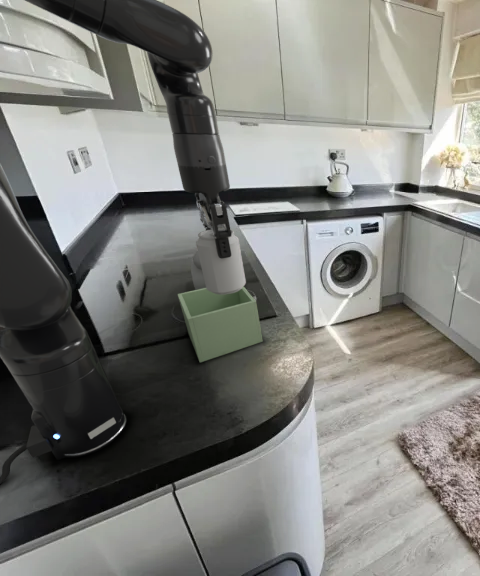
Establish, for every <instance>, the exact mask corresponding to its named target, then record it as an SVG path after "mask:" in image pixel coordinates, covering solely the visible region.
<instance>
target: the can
mask: <svg viewBox="0 0 480 576" xmlns="http://www.w3.org/2000/svg"><path fill="white" fill-rule="evenodd" d="M230 230H231V233H232V235H231V237H229V238H228V239H229V244H230V249H231V257H228V258H223V259H221V258H219V256H218V253H217V248H216V243H215V239H214V238H213V233H212V230H206V229H205V230H203V231H201V232H199V233H198V234H197V237H198V238H197V240H196V241H195V245H196V249H197V251H198V254H199V259H200V263H201V267H202V272H203V276H204V281H205V285H206V289H207V290H208V291H210V292H212V293H214V294H219V295H225V294H231V293H235V292H237V291H239V290H240V289H242V287H243V286H244V287H245V285H246V284H247V279H246V275H245V268H244V263H243V257H242V251H241V245H240V239H239V237H238V236H236V235H235V231H234V230H232V229H230ZM218 231H224V229H218Z"/></svg>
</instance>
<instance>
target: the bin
mask: <svg viewBox="0 0 480 576" xmlns="http://www.w3.org/2000/svg"><path fill="white" fill-rule="evenodd" d="M177 298H178V301H179V305H180V308H181V312H182V315H183V319H184V322H185V326H186V329H187V330H186V331H187V334H188V336H189V338H190V341H191V344H192V346H193V349H194V351H195V354H196V357H197V359H198V361H199V363H203V362H206V361H209V360H213V359H215V358H218V357H221V356H224V355H227V354H230V353H234V352H236V351H239V350H242V349H245V348H247V347H251V346H253V345H257V344H259V343H262V342H263V341H264V340H263V335H262V329H261V323H260V322H261V321H260V316H259V312H258V305H257V301H256V299H255V298H254V297H253V296H252V294H251V293H250V292H249V291H248V290H247V289H246V287H245V285H244V286H243V287H242V289H240V290H239V291H237V292H235V293H231V294H225V295H219V294H214V293H212V292H210V291H208V290H207V289H206V288H203V289H198V290H195V289H193V290H190V291H185V292H181V293H177Z"/></svg>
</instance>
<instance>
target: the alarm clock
mask: <svg viewBox="0 0 480 576" xmlns="http://www.w3.org/2000/svg"><path fill="white" fill-rule="evenodd" d="M190 273H191V279H192V283H193V287H194V290H198V289H203V288H206V285H205V281H204V276H203V272H202V267H201V263H200V259H199V254H198V250H197V251H195V252H194V253H193V255H192V257H191V261H190Z"/></svg>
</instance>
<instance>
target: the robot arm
mask: <svg viewBox="0 0 480 576" xmlns="http://www.w3.org/2000/svg"><path fill="white" fill-rule="evenodd" d="M24 1H25V2H26V3H29V4H32V5H33V6H35V7H36V8H39V9H41V10H43V11H46V12H48V13H49V14H52V15H54V16H55V17H58V18H60V19H62V20H64V21H66V22H68V23H70V24H72V25H74V26H76V27H79V28H81V29H83V30H85V31H87V32H89V33H92V34H94V35H96V36H97V37H100V38H102V39H104V40H107V41H110V42H113V43H115V44H121V45H123V44H124V45H128V46H133V47H136V48H138V49H140V50H142V51H144V52H146V54H147V58H148V61H149V65H150V67H151V70H152V74H153V76H154V78H155V81H156V83H157V87H158V89H159V91H160V93H161V95H162V97H163V99H164V103H165V107H166V112H167V117H168V121H169V126H170V131H171V133H172V134H171V135H172V143H173V150H174V155H175V159H176V162H177V168H178V172H179V176H180V181H181V185H182V189H183V190H184V192H187V193H190V194H194V197H195V198H196V199H195V200H196V206H197V208H198V214H199V218H200V222H201V223H202V226H203V227H204V229H205V231H206V230H212V233H213V238H214V239H215V243H216V248H217V253H218V256H219V258H221V259H223V258H228V257H231V249H230V244H229V239H228V238H229V237H231V235H232V233H231V230H232V229H231V226H230V225H231V224H230V220H229V214H228V206H227V204H226V203H225V202H224V201H223V200H221V198H220V195H219V193H221V192H227V191H229V190H230V187H231V185H230V179H229V174H228V169H227V168H228V167H227V162H226V156H225V150H224V147H223V143H222V139H221V136H220V130H219V124H218V120H217V113H216V109H215V105H214V103H213V101H212V99H211V98H210V97H209V96H208V95H206V94H205V93H204V90H203V87H202V84H201V81H200V76H199V74H200V73H202V72H204V71H205V70H207V69H208V68H209V67H210V65H211V63H212V61H213V54H214V53H213V47H212V44H211V43H212V42H211V41H210V39H209V37H208V35H207V34H206V32H205V31H204V29H203V28H202V27H201V26H200V25H199V24H198V23H197V22H195V20H193V19H192V18H190V16H188V15H186V14H185V13H183V12H181V11H180V10H178V9H177V8H174V7H172V6H170V5H168V4H166V3H164V2H161V1H159V0H24ZM218 227H223V229H224V231H218ZM72 292H73V291H72V287H71V284H70V281H69V280H68V279H67V277H66V276H65V274H64V273H63V272H62V271H61V270H60V268H59V267H58V265H57V264H56V263H55V261H54V260H53V259H52V257H51V256H50V255H49V253H48V251H47V250H46V249H45V248H44V246H43V244H42V243H41V241H40V240H39V238H38V237H37V236H36V234H35V233H34V231H33V229H32V228H31V226H30V225H29V223H28V221H27V219H26V218H25V215H24V214H23V211H22V210H21V207H20V205H19V202H18V199H17V197H16V195H15V193H14V190H13V188H12V186H11V183H10V181H9V179H8V176H7V174H6V172H5V170H4V168H3V166H2V163H0V359H1V360H2V362H3V363H4V365H5V366H6V368H7V369H8V371H9V373H10V374H11V376H12V377H13V379H14V381H15V382H16V384H17V386H18V387H19V389H20V390H21V392H22V394H23V395H24V397H25V398H26V400H27V402H28V403H29V405H30V406H31V409H32V413H31V417H30V418H31V421H32V423H33V424H34V425H32V426H31V427H30V431H29V435H28V439H27V441H26V443H24V444H23V445H22V446H20V447H19V448H18V449H16V450H15V451H14V452H13V453H11V454H10V455H9V456H8V457H7V458H6V460H5V461H4V462H3V464H2V467H1V475H0V485H1V484H3V483H4V482H5V481H6V480H7V479H8V478H9V477H10V474H11V465H12V463H13V462H14V461H15V459H17V458H18V457H19V456H20V455H21V454H22V453H24V452H26V451H28V452H29V454H30V456H31V457H32V458H34V459H35V458H37V457H39V456H42V455H45V454H47V453H50V452H51V453H52V454H53V456H54V457H55V459H56V461H59V460H63V459H65V458H68V459H74V458H81V457H86V456H88V455H91V454H94V453H96V452H98V451H100V450H102V449H104V448H105V447H107V446H109V445H110V444H111V443H113V442H114V441H115V440H116V439H118V438H119V437H120V436H121V434H122V433H123V432H124V431H125V429H126V427H127V424H128V419H127V416H126V414H125V413H124V410H123V408H122V407H121V405H120V403H119V401H118V398H117V396H116V394H115V391H114V389H113V387H112V385H111V382H110V380H109V378H108V376H107V374H106V372H105V369H104V367H103V365H102V362H101V360H100V359H99V356H98V354H97V351H96V349H95V347H94V345H93V343H92V341H91V338H90V336H89V334H88V331H87V330H86V328H85V327H84V326H83V324H82V323H81V321H80V320H79V317H77V315H76V313H75V312H74V310H73V309H72V307H71V303H72V295H73V293H72Z"/></svg>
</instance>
